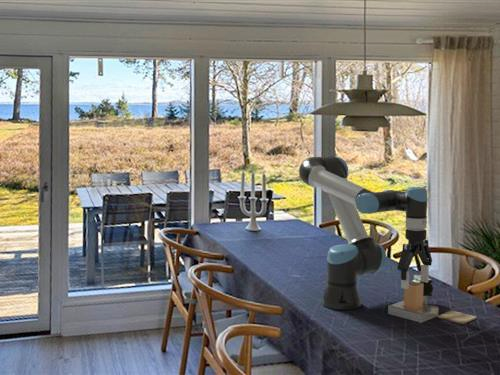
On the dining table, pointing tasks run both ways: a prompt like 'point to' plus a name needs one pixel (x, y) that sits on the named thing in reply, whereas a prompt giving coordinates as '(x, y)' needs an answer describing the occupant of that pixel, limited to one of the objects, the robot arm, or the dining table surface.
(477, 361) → the dining table surface
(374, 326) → the dining table surface
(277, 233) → the dining table surface
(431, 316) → the grey flat block
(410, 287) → the light wood tall block
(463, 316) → the pad
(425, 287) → the pneumatic valve
